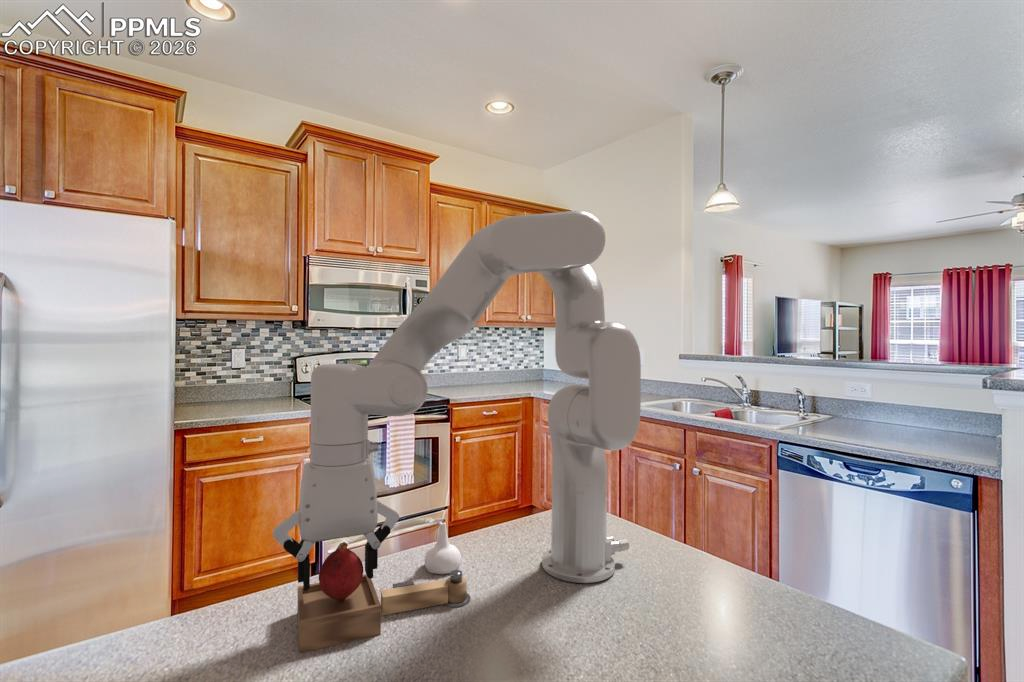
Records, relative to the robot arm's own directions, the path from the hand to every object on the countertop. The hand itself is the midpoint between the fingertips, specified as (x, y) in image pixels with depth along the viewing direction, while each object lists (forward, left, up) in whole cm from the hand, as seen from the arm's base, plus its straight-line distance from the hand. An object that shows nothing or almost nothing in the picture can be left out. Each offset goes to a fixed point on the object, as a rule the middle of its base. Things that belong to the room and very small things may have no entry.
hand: (338, 579), depth 69 cm
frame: (-14, 0, -6) cm, 15 cm away
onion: (0, 0, -3) cm, 3 cm away
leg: (-12, 0, -6) cm, 14 cm away
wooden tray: (0, 0, -6) cm, 6 cm away
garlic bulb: (-18, -11, -6) cm, 22 cm away
